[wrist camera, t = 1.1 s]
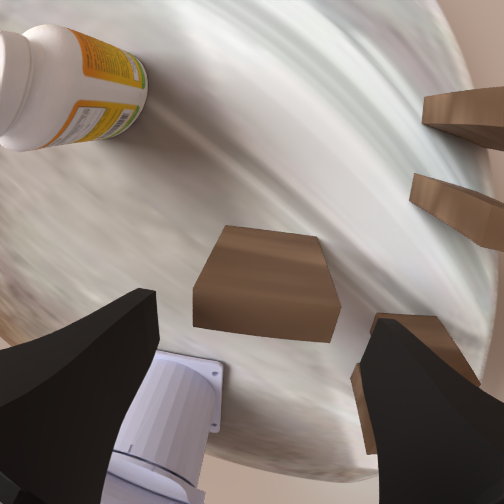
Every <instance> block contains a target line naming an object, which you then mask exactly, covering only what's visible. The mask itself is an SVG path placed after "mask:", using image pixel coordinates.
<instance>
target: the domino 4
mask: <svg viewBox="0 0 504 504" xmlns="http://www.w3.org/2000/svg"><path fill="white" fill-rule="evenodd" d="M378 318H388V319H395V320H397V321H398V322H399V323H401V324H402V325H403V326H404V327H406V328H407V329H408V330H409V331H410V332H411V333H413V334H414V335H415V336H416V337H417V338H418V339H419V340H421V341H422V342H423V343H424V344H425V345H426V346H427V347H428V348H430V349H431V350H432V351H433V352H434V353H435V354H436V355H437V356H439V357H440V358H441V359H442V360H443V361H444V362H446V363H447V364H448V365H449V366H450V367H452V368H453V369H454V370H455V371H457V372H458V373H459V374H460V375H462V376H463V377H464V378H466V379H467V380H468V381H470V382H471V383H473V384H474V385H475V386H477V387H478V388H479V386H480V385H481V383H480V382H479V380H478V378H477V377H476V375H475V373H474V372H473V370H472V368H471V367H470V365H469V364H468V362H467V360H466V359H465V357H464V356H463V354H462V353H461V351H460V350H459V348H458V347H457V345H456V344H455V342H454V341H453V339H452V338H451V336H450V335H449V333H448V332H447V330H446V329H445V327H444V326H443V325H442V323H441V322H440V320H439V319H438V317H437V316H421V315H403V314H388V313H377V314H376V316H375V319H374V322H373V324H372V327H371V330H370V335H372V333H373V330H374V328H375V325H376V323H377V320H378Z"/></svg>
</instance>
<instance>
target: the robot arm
mask: <svg viewBox="0 0 504 504" xmlns="http://www.w3.org/2000/svg"><path fill="white" fill-rule="evenodd" d="M159 341H160V336H159V326H158V314H157V302H156V291H154V290H148V289H142V288H137V289H135V290H133V291H131V292H129V293H127V294H125V295H124V296H122V297H120V298H118V299H117V300H115V301H113V302H111V303H109V304H108V305H106V306H104V307H102V308H100V309H99V310H97V311H95V312H93V313H92V314H90V315H88V316H86V317H84V318H82V319H80V320H78V321H76V322H74V323H72V324H70V325H68V326H66V327H64V328H62V329H60V330H57V331H55V332H53V333H51V334H48V335H46V336H43V337H40V338H38V339H35V340H32V341H30V342H26V343H23V344H20V345H16V346H13V347H10V348H7V349H2V350H0V504H203V502H204V497H205V492H204V491H201V490H198V489H197V484H198V480H199V476H200V471H201V466H202V462H203V457H204V453H205V448H206V444H207V439H208V434H209V432H212V433H218V432H219V431H220V420H221V402H222V384H223V368H224V367H223V364H222V363H220V362H218V361H212V360H206V359H200V358H194V357H189V356H184V355H178V354H173V353H168V352H163V351H159V350H157V347H158V344H159ZM360 371H361V380H362V388H363V393H364V397H365V401H366V405H367V409H368V413H369V417H370V421H371V425H372V429H373V434H374V438H375V442H376V448H377V455H378V468H379V504H504V403H503V402H501V401H499V400H498V399H496V398H494V397H492V396H491V395H489V394H487V393H486V392H484V391H483V390H481V389H480V388H478V387H477V386H475V385H474V384H473V383H471V382H470V381H468V380H467V379H466V378H464V377H463V376H462V375H460V374H459V373H458V372H457V371H455V370H454V369H453V368H452V367H450V366H449V365H448V364H447V363H446V362H444V361H443V360H442V359H441V358H440V357H439V356H437V355H436V354H435V353H434V352H433V351H432V350H431V349H430V348H428V347H427V346H426V345H425V344H424V343H423V342H422V341H421V340H419V339H418V338H417V337H416V336H415V335H414V334H413V333H411V332H410V331H409V330H408V329H407V328H406V327H404V326H403V325H402V324H401V323H399V322H398V321H397V320H395V319H388V318H378V320H377V323H376V325H375V328H374V330H373V333H372V335H371V338H370V340H369V343H368V345H367V348H366V350H365V352H364V355H363V357H362V359H361V362H360ZM216 372H218V373H216Z"/></svg>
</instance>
